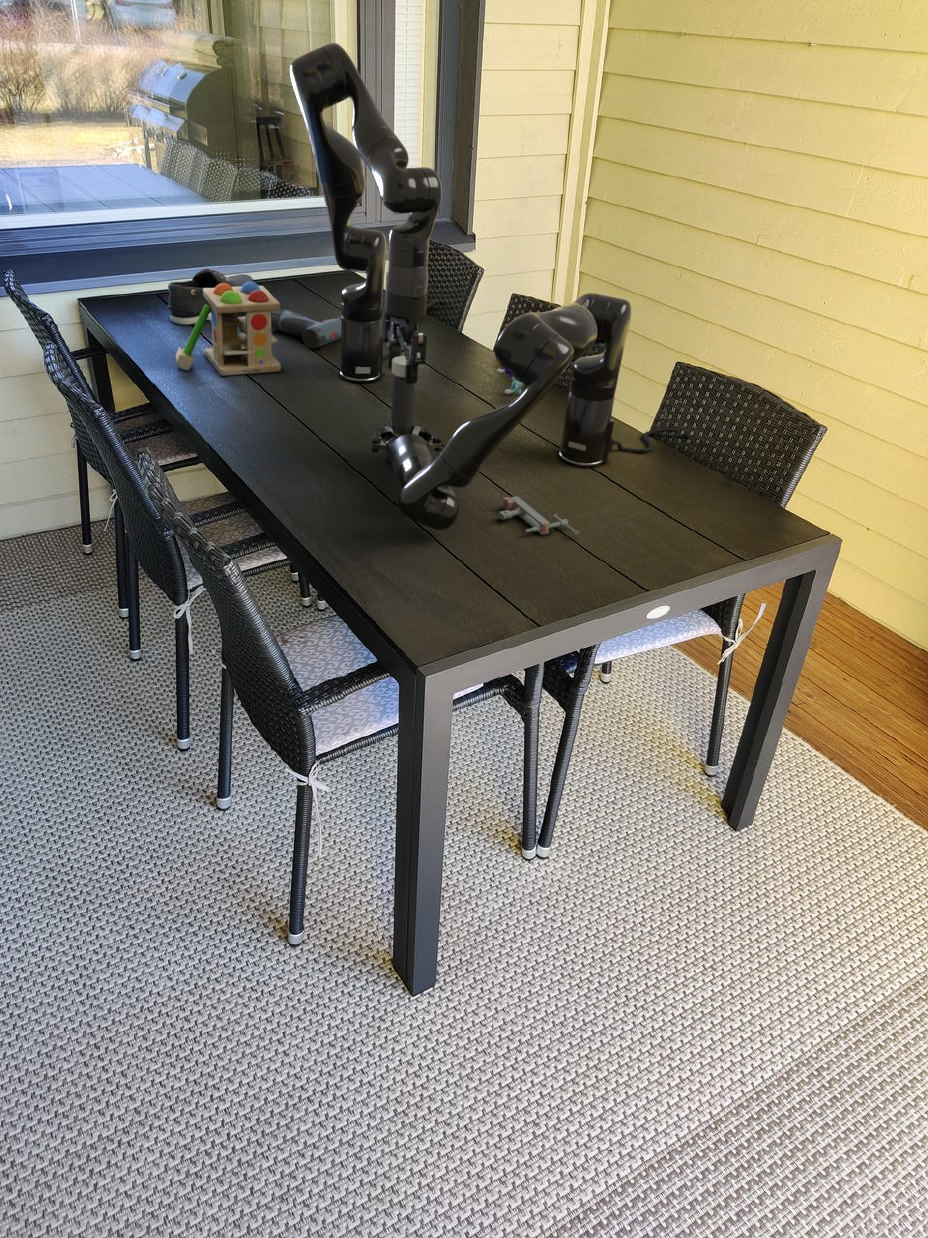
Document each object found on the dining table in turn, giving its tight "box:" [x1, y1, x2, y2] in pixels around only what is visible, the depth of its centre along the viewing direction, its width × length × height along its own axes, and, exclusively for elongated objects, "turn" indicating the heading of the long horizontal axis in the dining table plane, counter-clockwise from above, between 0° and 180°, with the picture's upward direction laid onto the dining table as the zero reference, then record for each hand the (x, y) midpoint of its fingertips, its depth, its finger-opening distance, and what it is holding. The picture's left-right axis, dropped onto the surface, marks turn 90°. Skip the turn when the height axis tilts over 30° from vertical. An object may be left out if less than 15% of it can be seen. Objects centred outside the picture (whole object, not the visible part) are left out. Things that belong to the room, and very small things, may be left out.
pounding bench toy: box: [174, 282, 282, 377], centre depth 225 cm, size 23×14×18 cm, turn 116°
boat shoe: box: [167, 268, 256, 325], centre depth 261 cm, size 13×33×10 cm, turn 147°
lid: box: [391, 355, 411, 377], centre depth 185 cm, size 5×5×2 cm
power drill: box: [271, 308, 341, 349], centre depth 252 cm, size 5×19×20 cm
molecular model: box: [496, 368, 525, 396], centre depth 227 cm, size 12×10×10 cm
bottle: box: [389, 374, 416, 464], centre depth 190 cm, size 4×4×20 cm
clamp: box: [498, 496, 580, 537], centre depth 177 cm, size 15×2×10 cm
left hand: (402, 375), depth 186 cm, fingers open, 7 cm apart
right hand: (399, 424), depth 194 cm, fingers closed on bottle, 4 cm apart
